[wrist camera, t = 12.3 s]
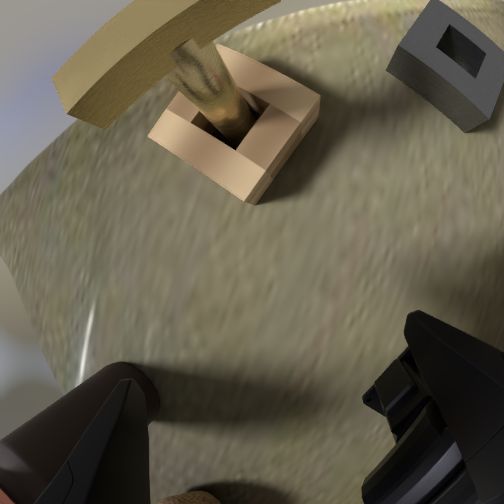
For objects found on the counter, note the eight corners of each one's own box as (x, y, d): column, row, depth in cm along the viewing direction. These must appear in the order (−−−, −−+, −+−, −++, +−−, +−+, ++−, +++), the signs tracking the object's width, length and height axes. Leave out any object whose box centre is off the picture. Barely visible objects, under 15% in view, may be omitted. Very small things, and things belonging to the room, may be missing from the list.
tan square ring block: (318, 117, 20) (320, 95, 16) (255, 205, 21) (244, 201, 17) (231, 68, 20) (217, 43, 16) (172, 148, 22) (147, 136, 18)
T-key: (277, 91, 20) (232, -59, 6) (296, 114, 20) (275, -37, 6) (191, 153, 22) (51, 76, 7) (208, 177, 22) (67, 115, 7)
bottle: (120, 419, 26) (2, 533, 6) (93, 363, 25) (-56, 460, 6) (172, 418, 24) (52, 571, 5) (143, 357, 24) (-28, 493, 5)
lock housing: (490, 75, 16) (511, 58, 12) (464, 132, 18) (489, 119, 14) (420, 20, 17) (433, -4, 13) (385, 70, 18) (398, 45, 14)
